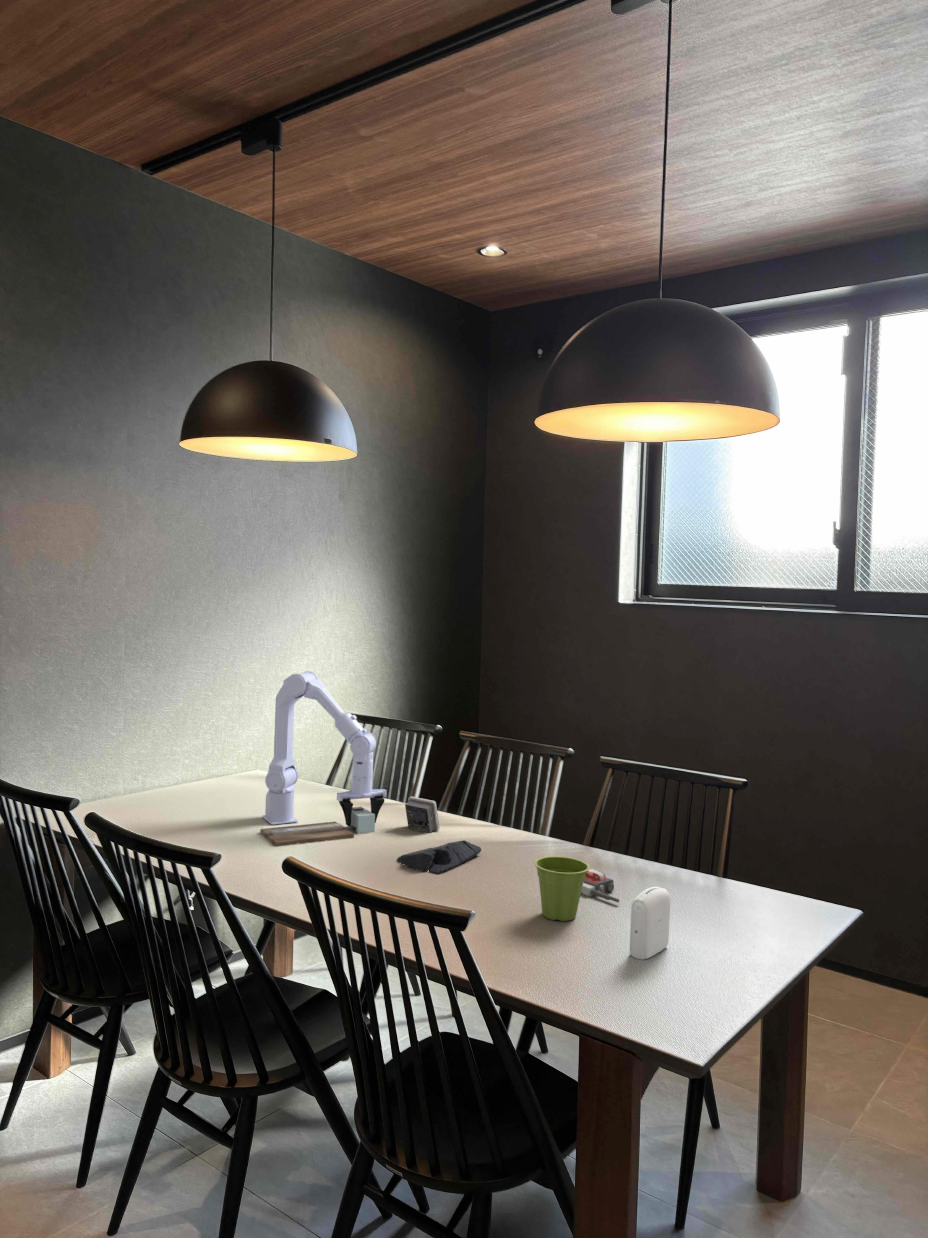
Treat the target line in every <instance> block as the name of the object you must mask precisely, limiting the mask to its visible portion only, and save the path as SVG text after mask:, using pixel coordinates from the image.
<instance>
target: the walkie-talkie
mask: <svg viewBox="0 0 928 1238" xmlns="http://www.w3.org/2000/svg"><path fill="white" fill-rule="evenodd" d="M614 888H615V885H614V879H611V878H608V877H606V874H605V873H604V872H603V871H599V870H596V869H593V868H590V869H589V870H588V871H587V873H586V877H585V880H584V882H583V886H582V891H581V894H582V895H584V896H586V897H592V896H594V897H595V896H596V897H599V898H602V899H605V900H607V901H613V902H616V903H618V904H619V903H620V899H619V898H617V897H614V896H611V895H609V894H606V893H608V892H610V893H611V892H614Z"/></svg>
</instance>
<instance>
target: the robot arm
mask: <svg viewBox="0 0 928 1238" xmlns="http://www.w3.org/2000/svg"><path fill="white" fill-rule="evenodd" d="M282 682H283V684H282V686H281V687H280V689H279V690H278V692H277V694H276V697H275V709H274V710H275V712H274V735H273V736H274V737H273V741H274V742H273V758H272V760H271V762H270V763H269V765H268V771H267V774H266V776H265V781H264V782H265V786H266V787H267V789H268V790H267V792H266V795H265V811H264V814H263V815H262V816H261V817H262V818H263V819H264V820H265V821H266V822H268V823H269V824H270V825H281V824H282V825H283V824H293V823H294V824H295V823H298V822H299V820H298V819H296V818H295V816H294V806H295V805H294V804H295V803H294V801H295V796H294V795H295V784H296V783H297V782H298V779H299V772H298V769H297V763H296V760H295V759H294V757H293V755H294V754H293V749H294V727H295V726H294V725H295V723H294V721H295V719H294V718H295V704H296V703H297V702H298V701H299V700H300V699H302V698H305V699H310V700H314V701H317V703H319V704H320V706H321V707H322V708H323V709H324V710H325V711H326V712H327V713H328V714H329V715H330V717H332V719H334V727H335V728H336V730H337V731H338V732H339V733H340V734H341V735H342V736H343V738H344V739H345V740H346V741H347V743H348V744H349V749H350V751H351V753H352V758H353V759H352V776H351V779H352V780H351V782H352V783H351V790H347V791H342V792H336V801H338V802H339V804H340V805H339V806H340V807H341V809H342V812H343V815H344V821H345V825H346V826H347V825H348V826H351V813H352V807H353V805H354V803H353V802H352V800H359V799H360V800H361V799H369V800H370V812H371V813H373V814H375V824H377V820H378V817H379V813H380V811H381V809H382V807H383V805H384V804H385V798H387V793H388V792H387V789H384V788H379V789H377V788H376V789H375V788H373V778H374V777H373V775H374V774H373V772H374V750H375V749H376V748H377V739H376V737H375V735H374V734H373V733H371V732H368V730H367V729H366V728H364V727H363V726H362V725H361V724H360V723H359V722H358V720H357V719H358V717H357V716H356V715H355V714H352V713H350V712H345V711H344V710H343V709H342V708H341V706H340V705H339V703H338V702H337V701H336V700H335V698H334V697H333V696H332V694H331V693H330V692H329V691H328V689H327V687H326V686H325V685H324V683H323V681H322V680H321V679H320V678H318V676H317V674H316V673H314V672H312V671H304V672H301V673H294V674H291V675H289V676H288V677H286V678H285V679H284V680H283V681H282Z"/></svg>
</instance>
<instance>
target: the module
mask: <svg viewBox="0 0 928 1238" xmlns="http://www.w3.org/2000/svg"><path fill="white" fill-rule="evenodd" d="M375 826H376V823H375V814H373V813H371V810H370V811H369V810H368V809H366V808H364V807H362V806H355V807H352V813H351V826H348V825H346V827H347V828H348V829H354V827H355V834H357V835H360V834H361V835H362V834H370V833H371V832H372V833H375V832H376V831H375Z"/></svg>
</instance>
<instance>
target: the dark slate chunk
mask: <svg viewBox="0 0 928 1238" xmlns="http://www.w3.org/2000/svg"><path fill="white" fill-rule="evenodd" d="M481 852H482V848H481V846H478V845H476V844H473V843H471V842H469V841H467V840H466V839H465V840H459V841H453V842H452V841H450V842H447V843H445V844H443V845H439V846H437V847H436V846H435V847H429V848H424V849H421V850H417V851H413V852H412V851H411V852H408V853H404V854H402V855H400V856H398V857H397V858H396V862H399V863H401V864H400V865H402V864H405V865H404V866H406V865H408V866H409V867H408V866H407V867H408V868H410V867H411V868H410V869H412V870H413V869H414V870H416V869H418V870H417V871H420V870H421V872H425V873H426V872H427V871H428V870H429V872H427V873H431V872H433V873H435V874H437V873H438V874H443V873H444V872H447V871H449V870H452V869H454V868H456V867H459V866H460V865H461V864H464V863H466V862H467V861H470V860H471V859H474V857H475V856H477V855H479V854H481Z"/></svg>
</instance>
